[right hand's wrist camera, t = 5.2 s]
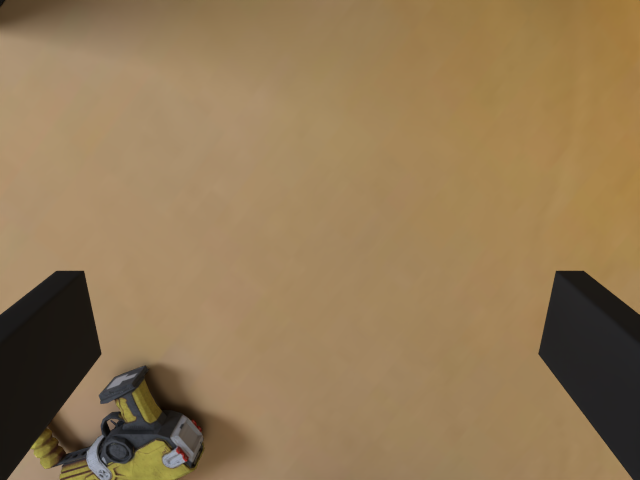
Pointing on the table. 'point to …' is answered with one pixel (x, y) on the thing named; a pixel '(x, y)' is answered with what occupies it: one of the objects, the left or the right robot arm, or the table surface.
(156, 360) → the table surface
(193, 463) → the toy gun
